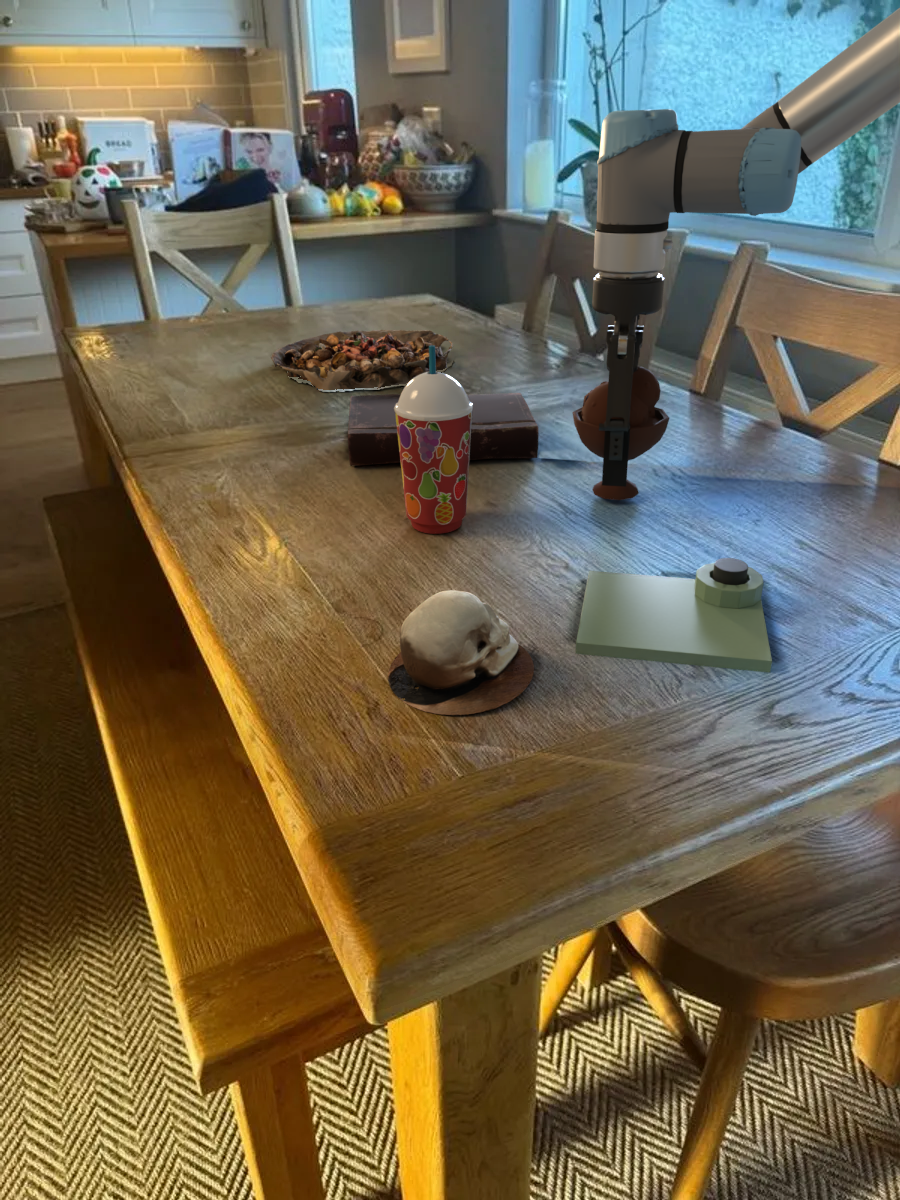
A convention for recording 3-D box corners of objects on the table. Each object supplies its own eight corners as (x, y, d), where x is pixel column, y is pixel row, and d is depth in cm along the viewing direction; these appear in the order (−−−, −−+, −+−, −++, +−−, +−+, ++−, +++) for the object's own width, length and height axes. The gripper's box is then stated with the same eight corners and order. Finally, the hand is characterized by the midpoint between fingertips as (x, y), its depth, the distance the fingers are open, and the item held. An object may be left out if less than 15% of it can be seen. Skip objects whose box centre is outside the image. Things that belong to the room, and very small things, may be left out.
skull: (477, 608, 82) (524, 561, 74) (521, 714, 80) (575, 677, 71) (358, 640, 77) (393, 593, 68) (400, 754, 74) (442, 720, 66)
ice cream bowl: (613, 469, 115) (620, 350, 108) (681, 494, 107) (693, 367, 100) (551, 489, 110) (554, 365, 103) (617, 516, 102) (626, 384, 95)
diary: (538, 462, 120) (539, 425, 118) (350, 470, 119) (347, 433, 116) (518, 420, 136) (519, 387, 134) (353, 427, 135) (350, 394, 133)
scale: (756, 592, 87) (760, 564, 85) (770, 673, 74) (775, 642, 73) (588, 579, 90) (590, 551, 88) (575, 654, 77) (577, 624, 76)
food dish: (390, 409, 146) (386, 361, 142) (235, 388, 161) (228, 344, 158) (490, 355, 172) (489, 313, 168) (349, 341, 187) (345, 303, 183)
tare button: (744, 573, 85) (747, 558, 84) (747, 588, 82) (749, 573, 81) (711, 571, 85) (713, 556, 84) (713, 585, 83) (715, 570, 82)
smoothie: (474, 510, 106) (473, 336, 96) (472, 539, 99) (471, 355, 89) (403, 510, 106) (395, 337, 97) (396, 539, 99) (387, 355, 89)
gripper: (663, 291, 86) (646, 506, 96) (665, 257, 106) (651, 438, 116) (584, 291, 88) (576, 502, 98) (601, 257, 108) (592, 435, 118)
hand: (616, 467), depth 107 cm, fingers closed on ice cream bowl, 11 cm apart
